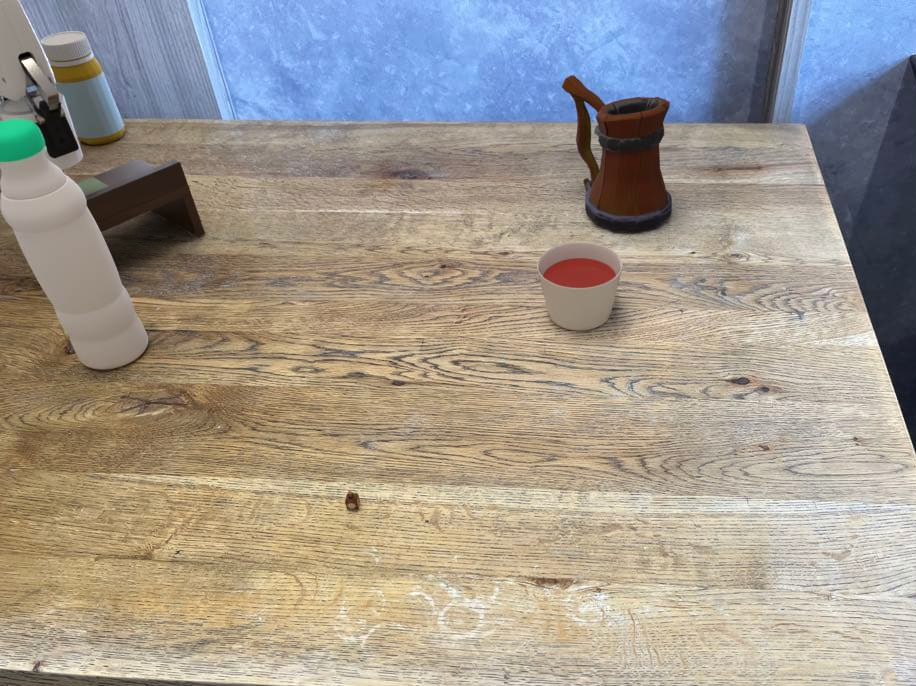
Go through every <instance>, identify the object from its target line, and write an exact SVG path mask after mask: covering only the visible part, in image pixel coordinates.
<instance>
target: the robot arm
mask: <svg viewBox="0 0 916 686" xmlns="http://www.w3.org/2000/svg"><path fill="white" fill-rule="evenodd" d="M55 85H56V81H55V78H54V75H53V72H52V69H51V65H50V63H49V61H48V58H47V57H46V54H45V52H44V50H43V47H42V45H41V41H40V40H39V38H38V36H37V34H36V31H35V29H34V28H33V26H32V24H31V22H30V19H29V17H28V16H27V14H26V11H25V9H24V8H23V6H22V4H21V1H20V0H0V104H1V103H2V102H4V101H6V100H8V99H10V100H13V101H19V100H20V97H22V98H23V99H24V101H25V103H26V104H27V106H28V108H29V109H30V111H31V112H32V114H33V116H34V117H35V119H36V121H37V123H35V124H36V125H37V126H38V127H39V129H40V131H41V133H42V135H43V137H44V140H45V146H46V148H47V152H48V155H49V156H50V157H52V158H58V157H61V156H63V155H66V154H69V153H71V152H74V151H77V150H78V149H79V146H78V144H77V141H76V139H75V137H74V135H73V132H72V130H71V128H70V125H69V123H68V121H67V118H66V116H65V112H64V110H63V108H62V107H61V102H59V101H60V100H59V93H58V90H57V88H56V86H55ZM30 87H35V88H36V89H34V90H32V91H28V88H30ZM39 97H41V98H42V101H39V109H38V107H37V105H36V104H35V102H34V100H33V99H36V98H39Z"/></svg>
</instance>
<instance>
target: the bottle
mask: <svg viewBox="0 0 916 686" xmlns="http://www.w3.org/2000/svg"><path fill="white" fill-rule="evenodd" d="M40 44H41V46H42V48H43V51H44V53H45V55H46V57H47V60H48V62H49V64H50V67H51V69H52V72H53V75H54V78H55V81H56V85H55V88H56V89H57V91H58V92H59V93H61V94H62V95H64V99H65V102H66V105H67V108H68V111H69V114H70V117H71V120H72V123H73V126H74V129H75V132H76V135H77V138H78V141H81V142H82V143H84V144H86V145H90V146H100V145H106V144H109V143H113V142H115V141H117V140H119V139H121V138H122V137H123V136H124V133H125V131H126V127H125V124H124V122H123V119H122V116H121V113H120V111H119V108H118V106H117V104H116V101H115V98H114V96H113V93H112V90H111V88H110V85H109V82H108V80H107V77H106V74H105V73H104V70H103V68H102V65H101V64H100V62H99V61H98V60H97V58H95V55H94V52H93V50H92V47H91V44H90V41H89V40H88V37H87V35H86V33H84V32H83V31H78V30H69V31H61V32H57V33H52V34H49V35H47V36H45V37H43V38H42V39H41V40H40Z"/></svg>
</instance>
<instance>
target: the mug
mask: <svg viewBox="0 0 916 686" xmlns="http://www.w3.org/2000/svg"><path fill="white" fill-rule="evenodd" d="M561 88H562V89H563V91H564V92H566V93H567V94H568V95H570V96H571V98H572V99H573V101H574V106H575V109H576V120H577V123H576V125H577V126H576V137H575V142H576V148H577V152H578V153H579V157H580V158H581V159H582V160H583V161H584V163H585V164H586V166H587V167H588V169H589V174H590V179H589V178H587V177H585V178H584V179H583V180H582V181H583V185H584V188H585V190H586V192H585V199H584V200H585V201H584V211H585V213H586V215H587V216H588V217H589V218H590V219H591V220H592V221H594V222H595V224H598V226H601V227H602V228H605V229H608V230H609V231H611V232H613V233H641V232H645V231H650V230H654V229H657V228H659V227H660V226H661V225H662V224H663V223H665V221H667V220H668V219H669V218H670V217H671V214H672V210H673V198H672V195H671V193H670V192H669V191H668V190H667V188H666V183H665V181H664V177H663V172H662V170H661V157H660V156H661V155H660V143H661V142H662V140H663V138H664V136H665V126H664V121H665V118H666V116H667V114H668V112H669V110H670V107H671V102H670V101H669V100H667V99H665V98H663V97H660V96H654V97H646V96H635V97H630V98H622V99H619V100H618V99H617V100H614V101H611V102H609V103H604V101H603V100H602V99H601V97H600V96H599V95H597V94H596V93H595V92H593V91H592V90H590V89H588V88H587V87H586V85H584V84H583V82H582V81H581V80H580V79H579V78H578V77H577V76H576V75H573V74H570V75H568V76H567V77H565V78H564V80H563V83H562V85H561ZM586 104H587V105H589V106H590V107H591V108H593V109H594V110H595V111H596V113H597V114H596V116H595V120H596V122H597V125H595V127H594V131H593V133H594V135H596V136H597V137H598V140H597V141H598V144H599V146H600V147H601V157H600V164H599V165H598V162H597V160H596V158H595V156H594V154H593V151H592V147H591V145H592V121H591V116H590V113H589V110H588V108H587V106H586ZM599 166H600V167H599Z"/></svg>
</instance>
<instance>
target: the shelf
mask: <svg viewBox="0 0 916 686" xmlns="http://www.w3.org/2000/svg"><path fill="white" fill-rule="evenodd" d="M75 183H76V184H77V185H78V186H79V187H80V188H81V190H82V191H83V193H84V195H85V198H86V202H87V208H88V209H89V211H90V213H91V214H92V216H93V218H94V220H95V222H96V224H97V225H98V227H99V230H100V232H101V233H104V232H106V231H108V230H110V229H112V228H115V227H117V226H119V225H121V224H124V223H127V222H129V221H131V220H133V219H136V218H138V217H140V216H142V215H144V214H147V213H149V212H152V213H154V214H155V215H157V216H158V217H161V218H162V219H164V220H166V221H167V222H169V223H171V224H173V225H174V226H177V227H178V228H180V229H182V230H183V231H185V232H187V233H189V234H191V235H192V236H194V237H195V238H200V237H202V236H204V235H206V232H205V228H204V227H203V223H202V220H201V218H200V217H201V216H200V215H199V211H198V209H197V206H196V203H195V201H194V197H193V194H192V191H191V188H190V185H189V182H188V180H187V178H186V175H185V172H184V168H183V166H182V163H181V161H179V160H177V159H172V160H170V161H167V162H165V163H163V164H160V165H157V166H153V165H152V164H149V163H148V162H145V161H143V160H142V159H140V158H137V159H134V160H131V161H129V162H126V163H124V164H121V165H118V166H116V167H114V168H111V169H108V170H105V171H104V172H101V173H98V174H96V175H93V176H91V177H88V178H85V179H83V180H81V181H78V182H75Z"/></svg>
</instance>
